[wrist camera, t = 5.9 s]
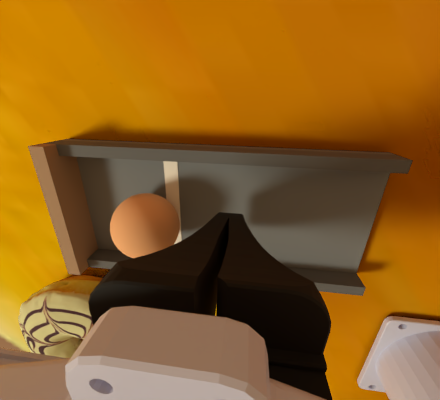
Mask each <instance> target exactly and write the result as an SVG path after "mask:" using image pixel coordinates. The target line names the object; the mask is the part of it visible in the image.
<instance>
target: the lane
mask: <svg viewBox="0 0 440 400" xmlns="http://www.w3.org/2000/svg"><path fill="white" fill-rule="evenodd" d="M28 148H29V151H30V154H31V157H32V160H33V163H34V167H35V170H36V173H37V176H38V179H39V182H40V185H41V189H42V192H43V195H44V198H45V201H46V204H47V207H48V211H49V214H50V217H51V220H52V223H53V226H54V229H55V233H56V236H57V239H58V242H59V245H60V248H61V251H62V255H63V258H64V261H65V264H66V267H67V270H68V273H69V274H74V275H81V274H82V273H83V272H84V271H85V270H86V269H87V268H88V267H96V268H105V269H111V268H112V267H113V266H114V265H115V264H116V263H117V262H118V261H123V260H128V259H132V258H131V257H128V256H126V255H125V254H123V253H122V252H121V251H120V250H119V249H118V248H117V247H116V246H115V244H114V242H113V240H112V237H111V233H110V222H111V218H112V215H113V213H114V211H115V210H116V208H117V207H118V206H119V205H120V204H121V203H122V202H123V201H124V200H126V199H127V198H129V197H131V196H133V195H137V194H142V193H151V194H156V195H159V196H161V197H163V198H165V199H166V200H168V201H169V202H170V203H171V204H172V205H173V206H174V208H175V209H176V211H177V213H178V216H179V221H180V230H179V234H178V237H177V240H176V241H175V243H174V244H176V243H178V242H180V241H182V240H184V239H185V238H187V237H189V236H191V235H192V234H194V233H195V232H196V231H198V230H199V229H200V228H202V227H203V226H204V225H205V224H206V223H208V222H209V221H210V220H211V219H212V218H213V217H214V216H215V215H216V214H217V213H219V212H224V213H237V214H242V215H243V216H244V219H245V222H246V224H247V226H248V227H249V229H250V231H251V232H252V234H253V235H254V237H255V238H256V240H257V241H258V242H259V243H260V245H261V246H262V247H263V248H264V249H265V250H266V251H267V252H268V253H269V254H270V255H271V256H273V257H274V258H275V259H276V260H278V261H279V262H280V263H282V264H283V265H285V266H286V267H288V268H289V269H291V270H292V271H294V272H296V273H298V274H299V275H301V276H303V277H305V278H307V279H309V280H311V281H313V282H314V283H315V285H316V287H317V289H318V291H324V292H333V293H343V294H352V295H362V296H363V293H364V290H365V286H364V285H363V283H362V281H361V280H360V278H359V277H358V275H357V274H356V273H357V270H358V267H359V264H360V261H361V258H362V255H363V252H364V249H365V246H366V243H367V240H368V237H369V234H370V231H371V228H372V225H373V222H374V219H375V216H376V213H377V211H378V208H379V205H380V202H381V199H382V196H383V193H384V190H385V187H386V184H387V181H388V178H389V175H390V173H406V174H408V172H409V169H410V166H411V164H412V161H413V160H410V159H407V158H404V157H401V156H398V155H395V154H392V153H389V152H366V151H342V150H319V149H295V148H272V147H248V146H225V145H201V144H177V143H154V142H130V141H107V140H83V139H64V140H59V141H53V142H48V143H43V144H38V145H32V146H28Z"/></svg>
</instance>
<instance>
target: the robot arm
mask: <svg viewBox="0 0 440 400" xmlns="http://www.w3.org/2000/svg"><path fill="white" fill-rule="evenodd" d="M88 304H89V311H90V314H91V318H92V321H93V325H94V326H93V327H92V329H91V330H90V332H89V333H88V334H87V336H86V337H85V339H84V340H83V341H82V343H81V344H80V346H79V347H78V348H77V350H76V351H75V353H74V354H73V355H72V357H71V358H62V357H56V356H49V355H43V354H37V353H30V352H24V351H18V350H11V349H5V348H0V400H332V397H331V393H330V389H329V386H328V382H327V379H326V375H325V372H326V370H327V365H326V362H325V358H324V355H323V352H324V349H325V346H326V342H327V339H328V336H329V333H330V328H331V320H330V316H329V313H328V310H327V307H326V305H325V302H324V300H323V298H322V296H321V294H320V293H319V291H318V289H317V287H316V285H315V283H314V282H313V281H311V280H309V279H307V278H305V277H303V276H301V275H299V274H298V273H296V272H294V271H292V270H291V269H289V268H288V267H286V266H285V265H283V264H282V263H280V262H279V261H278V260H276V259H275V258H274V257H273V256H271V255H270V254H269V253H268V252H267V251H266V250H265V249H264V248H263V247H262V246H261V245H260V243H259V242H258V241H257V240H256V238H255V237H254V235H253V234H252V232H251V231H250V229H249V227H248V226H247V224H246V222H245V219H244V216H243V215H242V214H237V213H224V212H219V213H217V214H216V215H215V216H214V217H213V218H212V219H211V220H210V221H209V222H208V223H206V224H205V225H204V226H203V227H202V228H200V229H199V230H198V231H196V232H195V233H194V234H192V235H191V236H189V237H187V238H185V239H184V240H182V241H180V242H178V243H176V244H174V245H171V246H169V247H167V248H165V249H162V250H159V251H157V252H154V253H151V254H147V255H144V256H140V257H136V258H132V259H128V260H123V261H118V262H117V263H116V264H115V265H114V266H113V267H112V268H111V270H110V271H109V272H108V273H107V274H106V275H105V277H104V278H103V279H102V280H101V281H100V283H99V284H98V285H97V286H96V287H95V289H94V290H93V291H92V293H91V294H90V297H89V301H88ZM216 304H217V316H215V311H216ZM357 383H358V385H359V387H360V388H362V389H366V390H373V391H380V392H386V394H387V396H388V398H389V400H440V321H433V320H424V319H415V318H406V317H397V316H389V317H387V318H385V320H384V321H383V324H382V326H381V328H380V330H379V332H378V335H377V337H376V339H375V341H374V344H373V346H372V348H371V350H370V353H369V355H368V357H367V359H366V361H365V364H364V366H363V368H362V370H361V373H360V375H359V377H358V379H357Z"/></svg>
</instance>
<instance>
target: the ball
mask: <svg viewBox="0 0 440 400" xmlns="http://www.w3.org/2000/svg"><path fill="white" fill-rule="evenodd" d="M179 230H180V221H179V216H178V213H177V211H176V209H175V208H174V206H173V205H172V204H171V203H170V202H169V201H168V200H166V199H165V198H163V197H161V196H159V195H156V194H151V193H142V194H137V195H133V196H131V197H129V198H127V199H126V200H124V201H123V202H122V203H121V204H120V205H119V206H118V207H117V208H116V210H115V211H114V213H113V215H112V218H111V222H110V233H111V237H112V240H113V242H114V244H115V246H116V247H117V248H118V249H119V250H120V251H121V252H122V253H123V254H125V255H126V256H128V257H131V258H136V257H140V256H144V255H147V254H151V253H154V252H157V251H159V250H162V249H165V248H167V247H169V246H171V245H174V243H175V241H176V240H177V237H178V234H179Z"/></svg>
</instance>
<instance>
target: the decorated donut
mask: <svg viewBox="0 0 440 400" xmlns="http://www.w3.org/2000/svg"><path fill="white" fill-rule="evenodd" d="M102 279H103V278H102V277H96V276H90V275H89V276H87V275H78V276H72V277H68V278H65V279H62V280H60V281H57V282H54V283H52V284H50V285H48V286H46V287H45V288H43V289H41V290H39V291H38V292H36V293H34V294H32V295H31V297H30V298H29V299H28V300H27V301H25V302H24V303H22V305H21V307H20V315H19V325H20V329H21V331H22V333H23V336H24V338H25V341H26V343H27V345H28V347H29V349H30V351H31V352H32V353H37V354H43V355H49V356H56V357H62V358H71V357H72V355H73V354H74V353H75V351H76V350H77V348H78V347H79V346H80V344H81V343H82V341H83V340H84V339H85V337H86V336H87V334H88V333H89V332H90V330H91V329H92V327H93V326H94V325H93V321H92V318H91V314H90V311H89V304H88V301H89V297H90V294H91V293H92V291H93V290H94V289H95V287H96V286H97V285H98V284H99V283H100V281H101V280H102Z"/></svg>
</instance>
